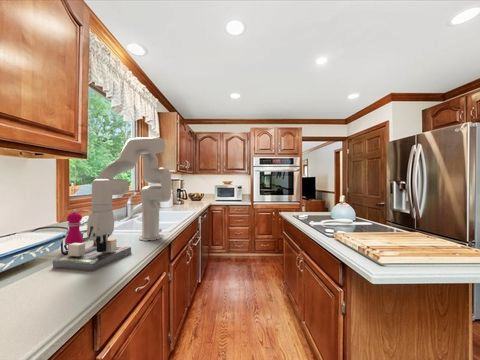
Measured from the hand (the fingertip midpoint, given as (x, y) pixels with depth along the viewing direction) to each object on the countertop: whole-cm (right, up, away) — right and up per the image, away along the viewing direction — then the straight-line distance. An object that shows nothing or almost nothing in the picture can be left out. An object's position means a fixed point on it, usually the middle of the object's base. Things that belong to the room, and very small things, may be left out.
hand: (101, 251), depth 93 cm
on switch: (-9, -1, -2) cm, 10 cm away
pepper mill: (-24, -5, +16) cm, 29 cm away
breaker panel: (-4, -5, +3) cm, 7 cm away
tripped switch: (+1, -1, +4) cm, 4 cm away
